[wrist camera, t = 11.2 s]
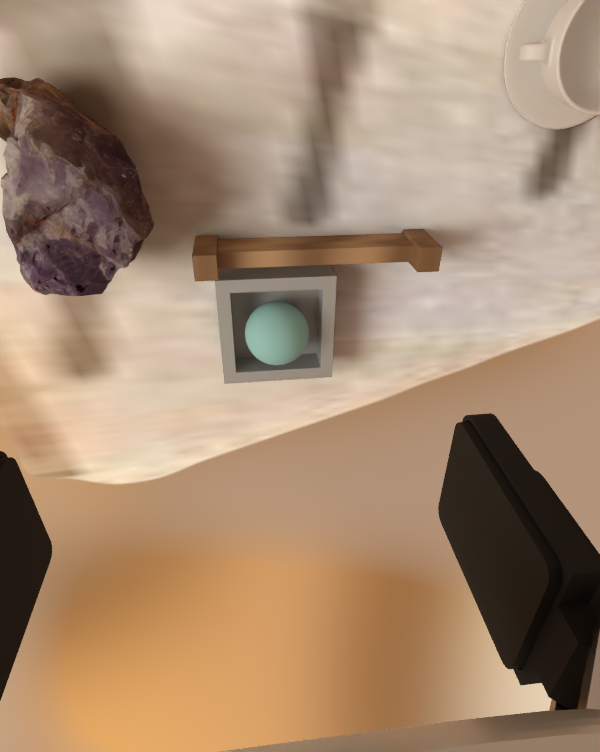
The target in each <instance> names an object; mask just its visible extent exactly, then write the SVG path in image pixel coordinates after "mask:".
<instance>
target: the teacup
mask: <svg viewBox="0 0 600 752" xmlns="http://www.w3.org/2000/svg"><path fill="white" fill-rule="evenodd" d="M504 77H505V84H506V88H507V92H508V95H509V97H510V100H511V102H512V104H513V106H514V107H515V109H516V110H517V111H518V113H519V114H520V115H521V116H522V117H523V118H524V119H526V120H527V121H528V122H530V123H531V124H533V125H536V126H538V127H541V128H545V129H553V130H557V129H566V128H570V127H574V126H577V125H580V124H582V123H584V122H586V121H588V120H590V119H591V118H593V117H595V116H596V115H600V0H524V2H523V4H522V5H521V7H520V9H519V11H518V13H517V15H516V17H515V19H514V22H513V24H512V27H511V30H510V33H509V36H508V40H507V44H506V49H505V57H504Z"/></svg>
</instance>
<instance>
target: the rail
mask: <svg viewBox="0 0 600 752" xmlns="http://www.w3.org/2000/svg"><path fill="white" fill-rule="evenodd" d="M442 248H443V247H442V246H441V245H440V244H438V243H437V242H436V241H435V240H434V239H433V238H432V237H431V236H430V235H429V234H427V233H426V232H425V231H424V230H423V229H411V230H403V232H402V234H373V235H342V236H311V237H280V238H250V239H219V240H218V239H217V236H196V237H195V243H194V248H193V254H192V259H193V268H194V277H195V281H214V280H218V274H219V269H231V268H257V267H283V266H309V265H335V264H361V263H387V262H409V263H410V264H411V265H412V266H413V268H414V269H415V270H416V271H417V272H434V271H439V266H440V260H441V254H442Z"/></svg>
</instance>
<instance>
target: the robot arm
mask: <svg viewBox="0 0 600 752" xmlns="http://www.w3.org/2000/svg"><path fill="white" fill-rule="evenodd" d="M438 509H439V517H440V521H441V524H442V526H443V528H444V530H445V532H446V535H447V537H448V539H449V542H450V544H451V546H452V549H453V551H454V553H455V556H456V558H457V560H458V562H459V565H460V567H461V569H462V571H463V574H464V576H465V578H466V581H467V583H468V585H469V587H470V590H471V592H472V594H473V597H474V599H475V601H476V603H477V605H478V608H479V610H480V612H481V615H482V617H483V619H484V622H485V624H486V626H487V628H488V631H489V633H490V635H491V637H492V640H493V642H494V644H495V647H496V649H497V651H498V653H499V656H500V658H501V660H502V662H503V664H504V665H505V667H506V668H508V669H514V671H515V674H516V676H517V678H518V680H519V683H520V685H527V684H534V683H542V684H543V686H544V688H545V690H546V692H547V694H548V696H549V697H550V698H551V699H552V701H551V706H550V710H549V711H541V712H532V713H523V714H514V715H505V716H495V717H486V718H477V719H468V720H459V721H451V722H443V723H435V724H428V725H420V726H412V727H404V728H396V729H388V730H381V731H373V732H365V733H358V734H350V735H342V736H334V737H326V738H318V739H311V740H303V741H296V742H289V743H281V744H274V745H266V746H258V747H251V748H243V749H236V750H229V751H222V752H600V554H599V553H598V551H597V550H596V549H595V547H594V546H593V545H592V543H591V542H590V540H589V539H588V538H587V536H586V535H585V534H584V532H583V531H582V529H581V528H580V527H579V525H578V524H577V522H576V521H575V520H574V518H573V517H572V516H571V514H570V513H569V511H568V510H567V509H566V507H565V506H564V505H563V503H562V502H561V500H560V499H559V498H558V496H557V495H556V494H555V492H554V491H553V490H552V488H551V487H550V485H549V484H548V482H547V481H546V480H545V478H544V477H543V476H542V475H541V474H540V473H539V472H537V471H535V470H534V469H533V468H532V466H531V465H530V464H529V462H528V461H527V459H526V458H525V457H524V455H523V454H522V452H521V451H520V450H519V448H518V447H517V445H516V444H515V443H514V441H513V440H512V439H511V437H510V436H509V434H508V433H507V431H506V430H505V429H504V427H503V426H502V424H501V423H500V422H499V420H498V419H497V418H496V416H495V415H494V414H479V415H467V416H465V417H464V418H463V421H462V422H461V423H460V422H459V423H457V424H456V426H455V430H454V435H453V440H452V444H451V450H450V454H449V459H448V463H447V469H446V473H445V478H444V482H443V488H442V492H441V497H440V502H439V508H438ZM51 556H52V545H51V541H50V538H49V536H48V534H47V532H46V529H45V527H44V524H43V522H42V520H41V518H40V515H39V513H38V511H37V508H36V506H35V503H34V501H33V499H32V497H31V494H30V492H29V490H28V487H27V485H26V483H25V480H24V478H23V476H22V473H21V471H20V469H19V466H18V464H17V462H16V460H15V459H14V458H8V457H7V455H6V454H5V453H4V452H2V451H0V700H1V697H2V694H3V692H4V689H5V686H6V683H7V680H8V678H9V675H10V672H11V669H12V667H13V664H14V661H15V658H16V655H17V653H18V649H19V647H20V644H21V641H22V639H23V636H24V633H25V630H26V627H27V625H28V622H29V619H30V616H31V613H32V611H33V608H34V605H35V602H36V599H37V597H38V594H39V591H40V588H41V585H42V583H43V580H44V577H45V574H46V571H47V569H48V566H49V563H50V559H51Z"/></svg>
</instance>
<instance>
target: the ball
mask: <svg viewBox="0 0 600 752" xmlns="http://www.w3.org/2000/svg"><path fill="white" fill-rule="evenodd" d="M245 338H246V343H247V345H248V348H249V350H250V351H251V352H252V354H253V355H254V356H255V357H256V358H257V359H259V360H260V361H262V362H264V363H267V364H270V365H284V364H287V363H290V362H292V361H294V360H295V359H297V358H298V357H299V356H300V355H301V354H302V352H303V351H304V349H305V347H306V345H307V342H308V338H309V329H308V325H307V322H306V319H305V317H304V316H303V314H302V313H301V312H300V311H299V310H298V309H297V308H296V307H294V306H292V305H291V304H288V303H285V302H280V301H274V302H268V303H265V304H263V305H261V306H259V307H258V308H257V309H256V310H254V312H253V313H252V314H251V315H250V317H249V319H248V321H247V324H246V328H245Z"/></svg>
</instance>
